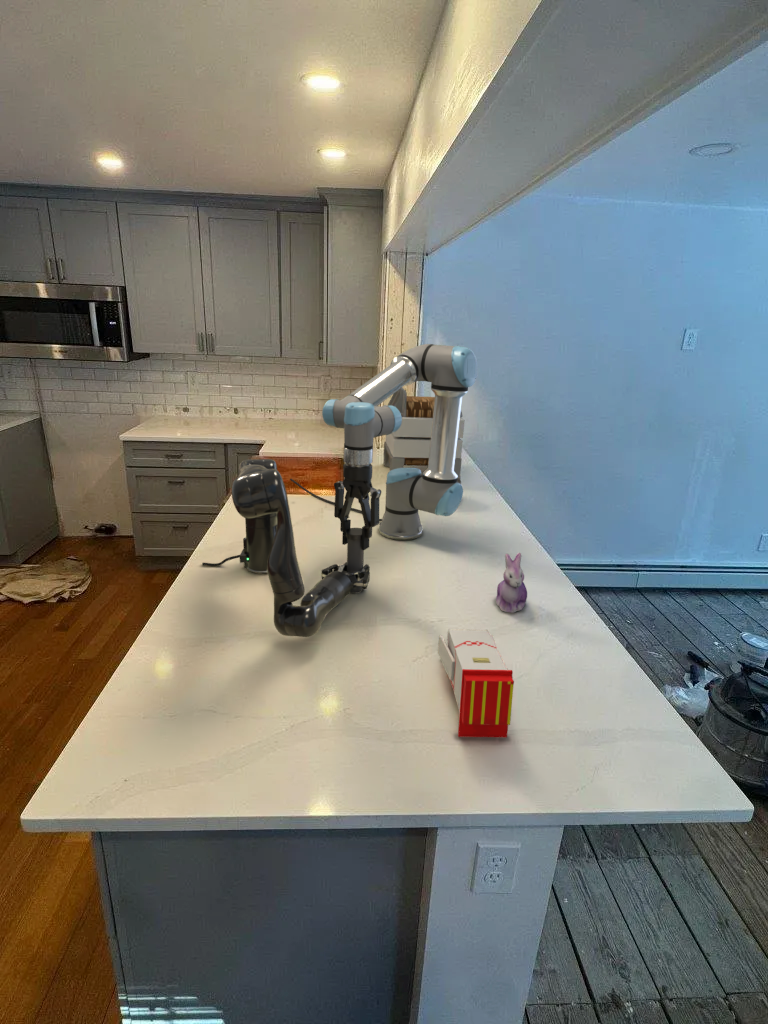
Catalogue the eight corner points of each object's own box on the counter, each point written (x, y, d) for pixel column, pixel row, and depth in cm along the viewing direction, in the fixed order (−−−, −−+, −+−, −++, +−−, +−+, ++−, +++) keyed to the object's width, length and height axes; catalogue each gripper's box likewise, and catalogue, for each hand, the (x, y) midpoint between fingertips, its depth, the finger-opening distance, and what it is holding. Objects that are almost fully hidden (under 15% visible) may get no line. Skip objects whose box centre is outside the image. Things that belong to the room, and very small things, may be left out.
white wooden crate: (382, 463, 289) (386, 382, 275) (445, 464, 293) (451, 384, 279) (390, 482, 257) (394, 392, 243) (460, 483, 261) (468, 394, 247)
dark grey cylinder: (345, 586, 161) (346, 530, 155) (360, 585, 162) (362, 529, 156) (347, 593, 157) (349, 536, 151) (364, 592, 158) (365, 535, 152)
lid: (343, 533, 156) (343, 528, 155) (364, 532, 157) (364, 527, 157) (347, 541, 151) (347, 535, 150) (368, 540, 152) (368, 534, 151)
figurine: (509, 617, 148) (516, 565, 143) (485, 599, 156) (491, 550, 151) (537, 610, 152) (544, 559, 147) (512, 593, 161) (519, 544, 156)
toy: (488, 613, 130) (523, 677, 101) (484, 667, 133) (517, 744, 104) (435, 612, 130) (455, 676, 101) (432, 666, 133) (451, 743, 103)
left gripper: (356, 583, 141) (383, 558, 156) (306, 572, 146) (336, 548, 161) (355, 610, 144) (381, 582, 158) (306, 597, 149) (336, 572, 163)
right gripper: (396, 466, 146) (391, 549, 154) (336, 454, 154) (335, 533, 162) (381, 472, 140) (377, 558, 147) (320, 460, 148) (320, 542, 156)
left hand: (359, 565), depth 160 cm, fingers closed on dark grey cylinder, 4 cm apart
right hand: (355, 545), depth 155 cm, fingers closed on lid, 5 cm apart
